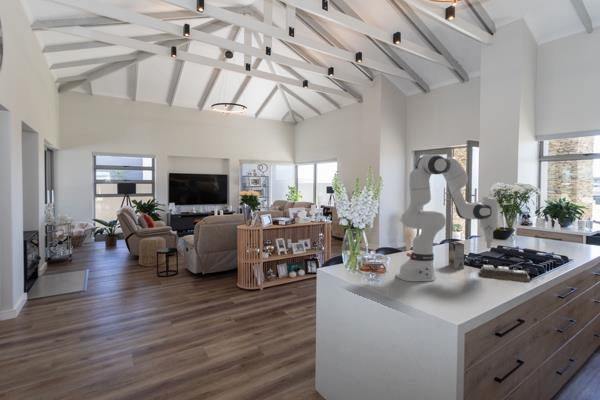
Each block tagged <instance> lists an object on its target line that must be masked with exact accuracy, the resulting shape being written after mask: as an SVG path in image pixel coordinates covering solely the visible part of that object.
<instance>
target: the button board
mask: <svg viewBox="0 0 600 400" xmlns="http://www.w3.org/2000/svg"><path fill="white" fill-rule="evenodd" d="M513 270H514V269H509V272H507V271H498V267H494V270H488V269H484V268H483V266H481V268H480V269H479V277H482V278H483V277H484V278H485V277H486V278H490V279H491V278H492V279H502V280H510V281H518V282H519V281H520V282H525V281H528V282H529V283H531V277H530V276H529V274H528V272H527V271H526V270H523V271H524V272H525V273H516V272H513ZM528 282H527V283H528Z"/></svg>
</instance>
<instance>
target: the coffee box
mask: <svg viewBox="0 0 600 400" xmlns="http://www.w3.org/2000/svg"><path fill="white" fill-rule="evenodd" d="M448 266H449V267H451V268H453V269H465V244H464V243H462V242H459V241H448Z"/></svg>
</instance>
